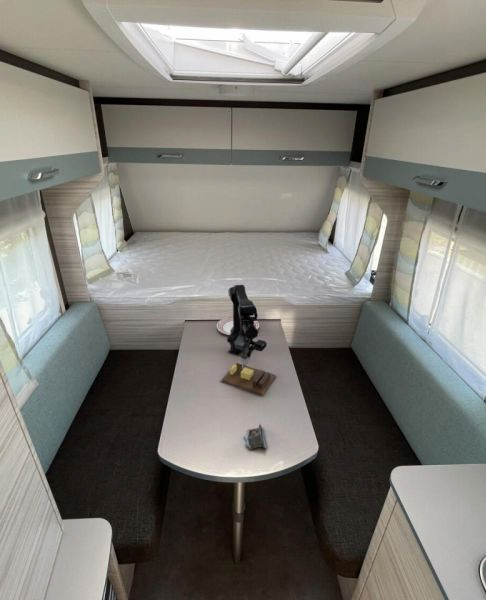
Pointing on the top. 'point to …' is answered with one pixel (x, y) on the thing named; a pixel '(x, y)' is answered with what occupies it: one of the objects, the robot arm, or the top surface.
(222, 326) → the dinner plate
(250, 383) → the cutting board
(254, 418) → the top surface
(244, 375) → the butter stick
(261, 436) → the grey irregular block
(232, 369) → the butter slice
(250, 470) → the top surface
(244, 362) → the dark grey block
